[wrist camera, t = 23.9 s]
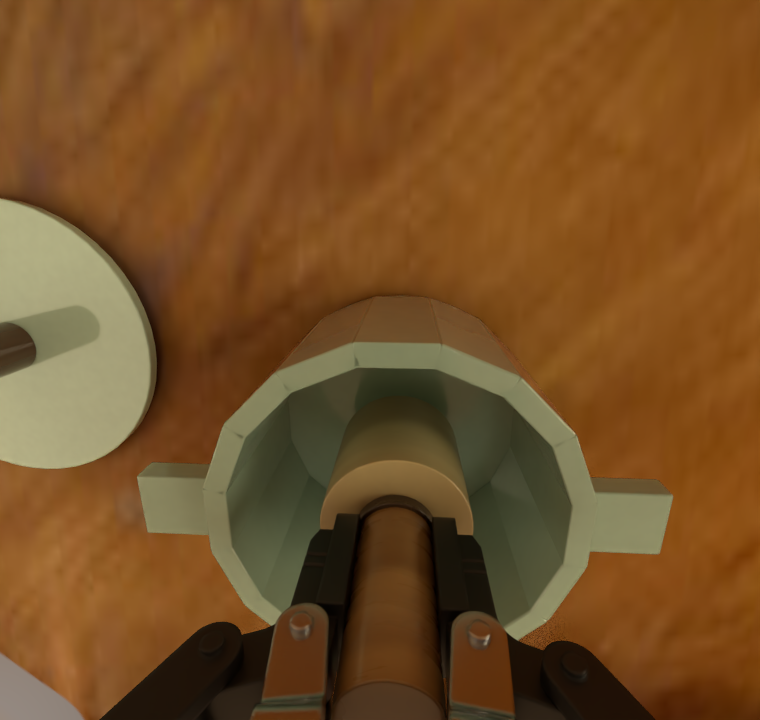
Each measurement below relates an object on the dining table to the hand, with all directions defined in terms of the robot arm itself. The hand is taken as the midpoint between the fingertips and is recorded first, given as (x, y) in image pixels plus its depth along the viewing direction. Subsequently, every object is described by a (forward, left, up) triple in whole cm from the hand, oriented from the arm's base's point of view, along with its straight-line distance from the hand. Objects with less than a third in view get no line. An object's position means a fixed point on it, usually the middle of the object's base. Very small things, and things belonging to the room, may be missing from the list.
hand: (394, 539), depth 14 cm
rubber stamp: (0, 0, -6) cm, 6 cm away
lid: (-4, -19, -8) cm, 21 cm away
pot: (0, 0, -9) cm, 9 cm away
